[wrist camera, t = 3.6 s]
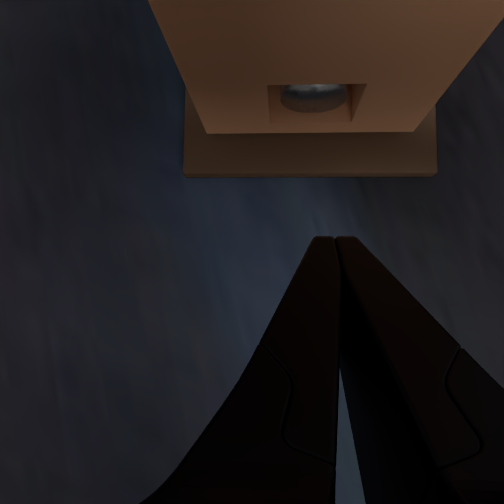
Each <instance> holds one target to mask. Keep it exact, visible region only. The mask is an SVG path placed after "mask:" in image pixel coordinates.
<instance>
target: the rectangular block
mask: <svg viewBox="0 0 504 504" xmlns="http://www.w3.org/2000/svg"><path fill="white" fill-rule="evenodd" d="M148 2H149V4H150V6H151V9H152V11H153V13H154V16H155V18H156V20H157V22H158V25H159V27H160V29H161V31H162V34H163V36H164V38H165V40H166V43H167V45H168V47H169V49H170V52H171V54H172V56H173V58H174V61H175V63H176V65H177V67H178V70H179V72H180V74H181V76H182V79H183V81H184V83H185V85H186V88H187V90H188V92H189V95H190V97H191V99H192V101H193V104H194V106H195V108H196V110H197V113H198V115H199V117H200V119H201V122H202V124H203V126H204V128H205V131H206V133H207V134H232V133H335V132H413V131H414V130H415V129H416V128H417V126H418V125H419V124H420V123H421V121H422V120H423V119H424V117H425V116H426V115H427V114H428V112H429V111H430V110H431V109H432V107H433V106H434V105H435V104H436V102H437V101H438V100H439V98H440V97H441V96H442V95H443V93H444V92H445V91H446V90H447V88H448V87H449V86H450V85H451V83H452V82H453V81H454V80H455V78H456V77H457V76H458V74H459V73H460V72H461V71H462V69H463V68H464V67H465V66H466V64H467V63H468V62H469V61H470V59H471V58H472V57H473V55H474V54H475V53H476V52H477V50H478V49H479V48H480V47H481V45H482V44H483V43H484V42H485V40H486V39H487V38H488V37H489V35H490V34H491V33H492V31H493V30H494V29H495V28H496V26H497V25H498V24H499V23H500V21H501V20H502V19H503V18H504V0H148ZM307 84H347V98H346V101H345V102H344V103H343V104H342V105H341V106H339V107H337V108H335V109H332V110H329V111H325V112H319V113H301V112H296V111H292V110H289V109H287V108H286V107H284V106H283V105H282V104H281V101H280V85H307Z"/></svg>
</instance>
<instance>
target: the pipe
mask: <svg viewBox="0 0 504 504" xmlns="http://www.w3.org/2000/svg"><path fill="white" fill-rule="evenodd" d="M346 98H347V84H307V85H280V101H281V104H282V105H283V106H284V107H286V108H287V109H289V110H292V111H296V112H301V113H319V112H325V111H329V110H332V109H335V108H337V107H339V106H341V105H342V104H343V103H344V102H345V101H346Z"/></svg>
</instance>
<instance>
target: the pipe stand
mask: <svg viewBox="0 0 504 504" xmlns="http://www.w3.org/2000/svg"><path fill="white" fill-rule="evenodd" d="M436 173H437V142H436V108H435V105H434V106H433V107H432V109H431V110H430V111H429V112H428V114H427V115H426V116H425V117H424V119H423V120H422V121H421V123H420V124H419V125H418V126H417V128H416V129H415V130H414V131H413V132H335V133H232V134H207V133H206V131H205V128H204V126H203V124H202V122H201V119H200V117H199V115H198V113H197V110H196V108H195V106H194V104H193V101H192V99H191V97H190V95H189V92H188V90H187V88H186V90H185V124H184V157H183V174H184V176H185V177H186V178H204V177H433V176H434V175H435V174H436Z"/></svg>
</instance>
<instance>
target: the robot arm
mask: <svg viewBox="0 0 504 504" xmlns="http://www.w3.org/2000/svg"><path fill="white" fill-rule="evenodd" d="M460 348H461V346H460V345H459V344H458V342H457V341H456V340H455V339H454V338H453V337H452V336H451V335H450V334H449V333H448V332H447V331H446V330H445V329H444V328H443V327H442V326H441V325H440V324H439V323H438V322H437V321H436V320H435V319H434V317H433V316H432V315H431V314H430V313H429V312H428V311H427V310H426V309H425V308H424V307H423V306H422V305H421V304H420V303H419V302H418V301H417V300H416V299H415V298H414V297H413V296H412V295H411V294H410V292H409V291H408V290H407V289H406V288H405V287H404V286H403V285H402V284H401V283H400V282H399V281H398V280H397V279H396V278H395V277H394V276H393V275H392V274H391V273H390V272H389V271H388V270H387V269H386V267H385V266H384V265H383V264H382V263H381V262H380V261H379V260H378V259H377V258H376V257H375V256H374V255H373V254H372V253H371V252H370V251H369V250H368V249H367V248H366V247H365V246H364V245H363V244H362V242H361V241H360V240H359V239H358V238H356V237H353V236H338V237H336V238H335V239H334V238H333V237H331V236H316V237H314V238H313V239H312V241H311V243H310V245H309V247H308V249H307V251H306V253H305V255H304V257H303V259H302V261H301V262H300V264H299V266H298V268H297V270H296V272H295V274H294V276H293V278H292V280H291V282H290V284H289V286H288V288H287V290H286V292H285V294H284V296H283V297H282V299H281V301H280V303H279V305H278V307H277V309H276V311H275V313H274V315H273V317H272V319H271V321H270V323H269V325H268V327H267V329H266V331H265V332H264V334H263V336H262V338H261V340H260V343H259V345H258V346H257V348H256V350H255V351H254V353H253V355H252V357H251V359H250V361H249V363H248V365H247V366H246V368H245V370H244V372H243V373H242V375H241V377H240V379H239V380H238V382H237V383H236V385H235V386H234V388H233V389H232V391H231V392H230V394H229V395H228V397H227V398H226V400H225V401H224V403H223V404H222V406H221V407H220V409H219V410H218V411H217V413H216V414H215V416H214V417H213V418H212V420H211V421H210V422H209V424H208V425H207V427H206V428H205V429H204V431H203V432H202V434H201V435H200V436H199V438H198V439H197V441H196V442H195V443H194V445H193V446H192V447H191V449H190V450H189V452H188V453H187V454H186V456H185V457H184V459H183V460H182V461H181V463H180V464H179V465H178V467H177V468H176V469H175V470H174V472H173V473H172V474H171V475H170V476H169V478H168V479H167V480H166V481H165V482H164V483H163V484H162V485H161V486H160V487H159V488H158V489H157V490H156V491H155V492H154V493H152V494H151V495H150V496H149V497H147V498H146V499H145V500H143V501H142V502H140V503H139V504H335V481H336V469H335V468H336V452H337V425H338V397H339V370H340V371H341V377H342V382H343V387H344V392H345V397H346V403H347V408H348V413H349V418H350V423H351V429H352V434H353V439H354V444H355V450H356V455H357V460H358V465H359V470H360V476H361V481H362V486H363V491H364V496H365V502H366V504H504V389H503V388H502V387H501V386H500V385H499V384H498V383H497V382H496V381H495V380H494V379H493V378H492V377H491V376H490V375H489V374H488V373H487V372H486V371H485V370H484V369H483V368H482V367H481V366H480V365H479V364H478V363H477V362H476V361H475V360H474V359H473V358H472V357H471V356H470V355H469V354H468V353H467V352H466V351H465V350H464V349H462V348H461V349H460Z"/></svg>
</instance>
